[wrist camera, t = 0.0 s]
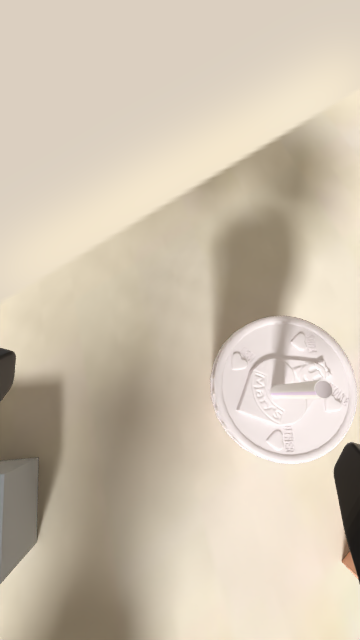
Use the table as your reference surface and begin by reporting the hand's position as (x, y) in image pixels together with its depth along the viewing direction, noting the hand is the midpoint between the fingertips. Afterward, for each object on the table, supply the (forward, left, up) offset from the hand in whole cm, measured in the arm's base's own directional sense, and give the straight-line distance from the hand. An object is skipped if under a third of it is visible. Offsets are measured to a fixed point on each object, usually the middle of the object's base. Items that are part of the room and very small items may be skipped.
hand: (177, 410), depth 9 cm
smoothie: (0, -5, -15) cm, 16 cm away
